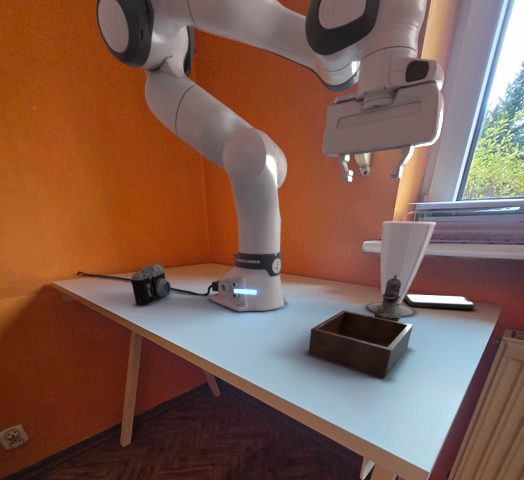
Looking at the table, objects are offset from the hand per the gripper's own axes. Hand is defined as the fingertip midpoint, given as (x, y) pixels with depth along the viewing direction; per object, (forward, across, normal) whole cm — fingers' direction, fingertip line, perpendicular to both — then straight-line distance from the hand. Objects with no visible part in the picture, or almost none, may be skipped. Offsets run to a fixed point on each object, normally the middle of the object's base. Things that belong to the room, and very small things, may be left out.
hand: (369, 180), depth 52 cm
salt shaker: (+29, +8, +1) cm, 30 cm away
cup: (+29, +5, +16) cm, 34 cm away
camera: (+29, -53, -18) cm, 63 cm away
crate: (+29, +8, -14) cm, 33 cm away
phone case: (+29, +14, +30) cm, 44 cm away
